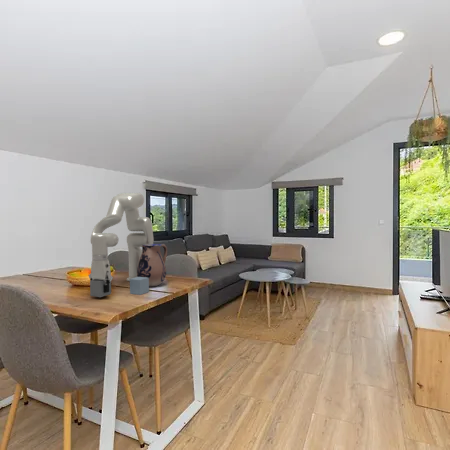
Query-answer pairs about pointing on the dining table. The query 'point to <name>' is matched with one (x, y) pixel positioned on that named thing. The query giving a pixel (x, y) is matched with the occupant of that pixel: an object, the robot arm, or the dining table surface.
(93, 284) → the dark grey block
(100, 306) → the dining table surface
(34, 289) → the dining table surface
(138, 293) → the blue-gray block
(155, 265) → the ceramic pitcher
